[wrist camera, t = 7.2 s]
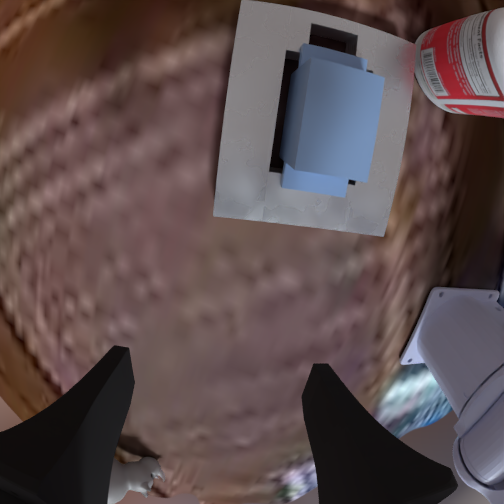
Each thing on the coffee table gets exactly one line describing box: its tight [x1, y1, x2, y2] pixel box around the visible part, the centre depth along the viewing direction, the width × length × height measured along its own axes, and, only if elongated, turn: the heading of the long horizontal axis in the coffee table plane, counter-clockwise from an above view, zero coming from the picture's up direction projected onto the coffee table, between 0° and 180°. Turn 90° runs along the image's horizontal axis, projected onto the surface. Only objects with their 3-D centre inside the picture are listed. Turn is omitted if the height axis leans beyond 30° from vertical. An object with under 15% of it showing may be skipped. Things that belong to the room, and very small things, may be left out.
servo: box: [279, 43, 385, 198], centre depth 14 cm, size 8×3×5 cm, turn 172°
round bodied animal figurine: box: [108, 457, 165, 504], centre depth 26 cm, size 7×12×8 cm, turn 68°
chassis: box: [213, 0, 416, 237], centre depth 15 cm, size 10×12×2 cm
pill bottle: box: [414, 8, 504, 118], centre depth 10 cm, size 6×6×11 cm
